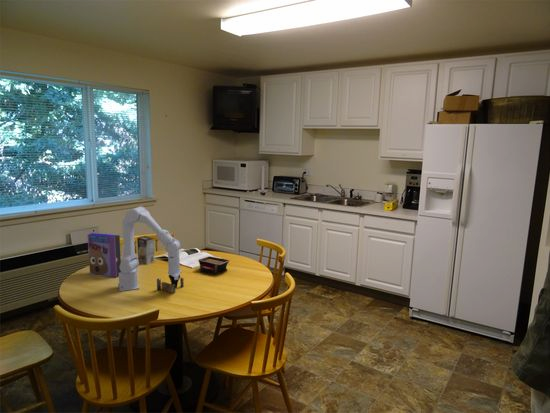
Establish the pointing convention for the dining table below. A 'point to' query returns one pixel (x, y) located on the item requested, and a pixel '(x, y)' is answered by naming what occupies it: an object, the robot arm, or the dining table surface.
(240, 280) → the dining table surface
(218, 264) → the dark rectangular container
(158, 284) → the gate posts
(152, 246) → the coffee box
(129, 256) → the robot arm
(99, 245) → the cereal box
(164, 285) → the brown wooden block
